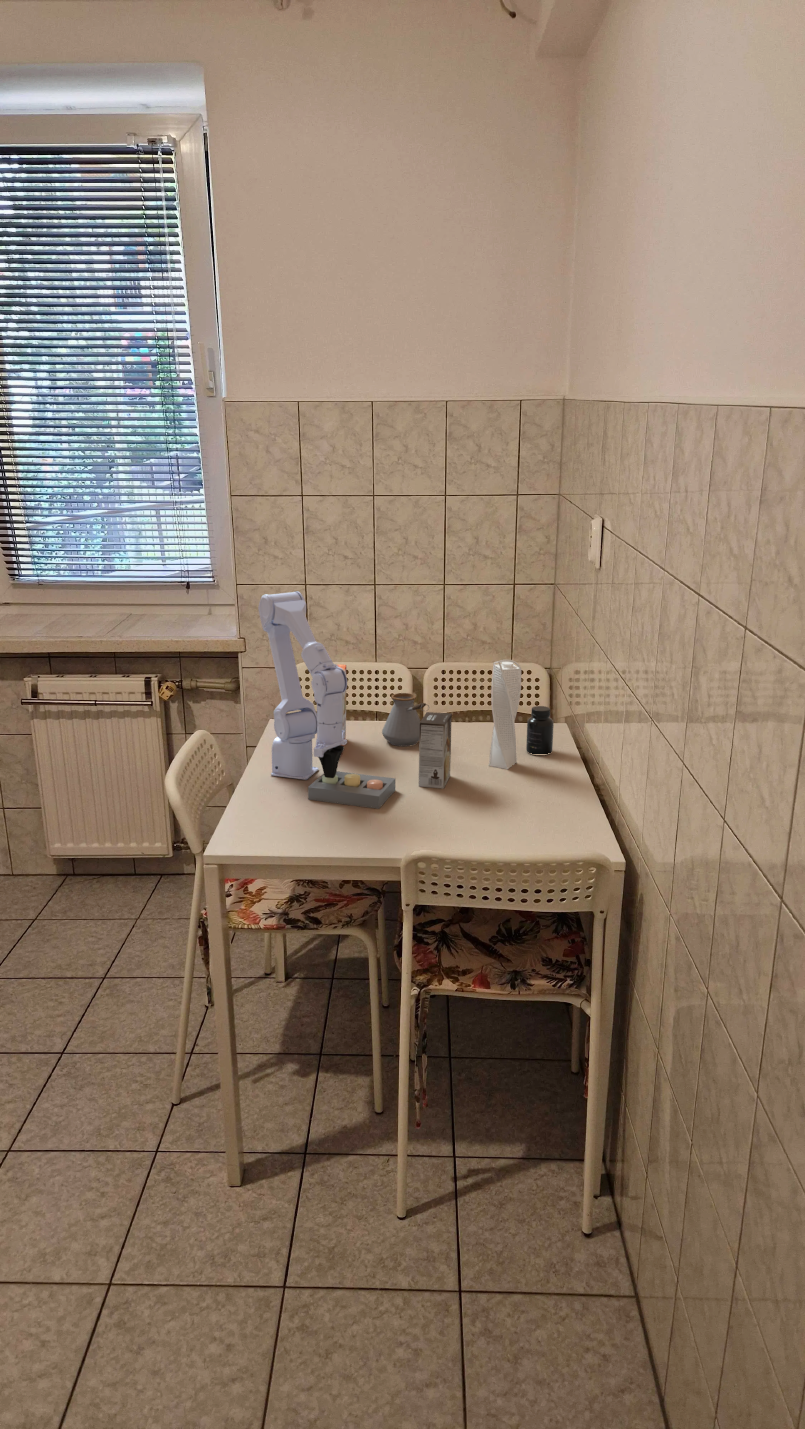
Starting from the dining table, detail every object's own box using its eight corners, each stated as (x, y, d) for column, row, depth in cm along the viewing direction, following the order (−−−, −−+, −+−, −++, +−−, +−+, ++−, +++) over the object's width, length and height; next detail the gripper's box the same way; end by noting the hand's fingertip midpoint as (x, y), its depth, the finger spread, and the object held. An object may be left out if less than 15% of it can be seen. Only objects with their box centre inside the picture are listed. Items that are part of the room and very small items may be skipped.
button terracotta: (364, 797, 228) (364, 784, 227) (370, 792, 231) (370, 778, 230) (379, 799, 227) (379, 785, 226) (384, 794, 230) (384, 780, 229)
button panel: (308, 799, 228) (308, 787, 227) (327, 781, 239) (327, 770, 238) (378, 808, 223) (378, 796, 222) (395, 790, 234) (395, 778, 233)
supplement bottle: (533, 746, 266) (536, 703, 263) (556, 751, 263) (559, 707, 259) (521, 752, 261) (523, 708, 258) (544, 758, 257) (546, 713, 254)
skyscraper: (509, 772, 247) (514, 662, 239) (482, 766, 250) (486, 658, 242) (522, 762, 253) (527, 655, 245) (495, 757, 257) (500, 651, 249)
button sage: (319, 791, 231) (319, 778, 230) (325, 786, 234) (325, 773, 233) (334, 793, 230) (334, 780, 229) (340, 788, 233) (340, 775, 232)
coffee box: (424, 773, 245) (426, 711, 240) (450, 775, 244) (452, 712, 239) (417, 786, 236) (419, 722, 232) (444, 789, 235) (446, 724, 230)
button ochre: (342, 791, 229) (342, 778, 228) (347, 786, 233) (347, 773, 232) (357, 793, 228) (357, 780, 227) (362, 788, 232) (362, 774, 231)
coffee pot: (376, 737, 271) (376, 684, 267) (415, 733, 275) (416, 681, 271) (403, 762, 252) (404, 706, 248) (445, 758, 256) (446, 702, 252)
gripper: (334, 731, 219) (334, 789, 223) (357, 713, 233) (357, 768, 237) (304, 728, 221) (305, 785, 225) (328, 711, 235) (329, 765, 239)
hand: (330, 777), depth 231 cm, fingers closed, pressing on button sage
